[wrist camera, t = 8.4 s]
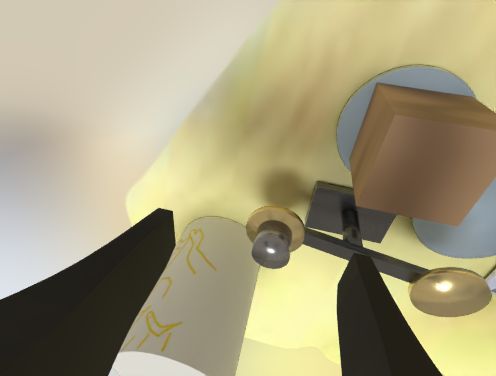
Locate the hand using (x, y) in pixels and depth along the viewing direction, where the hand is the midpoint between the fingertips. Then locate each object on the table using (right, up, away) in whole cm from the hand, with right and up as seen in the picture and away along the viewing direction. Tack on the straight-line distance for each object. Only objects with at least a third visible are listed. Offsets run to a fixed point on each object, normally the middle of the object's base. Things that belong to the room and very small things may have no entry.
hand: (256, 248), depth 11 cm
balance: (+8, +1, +11) cm, 13 cm away
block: (+9, +6, +6) cm, 12 cm away
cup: (-3, -3, +17) cm, 17 cm away
